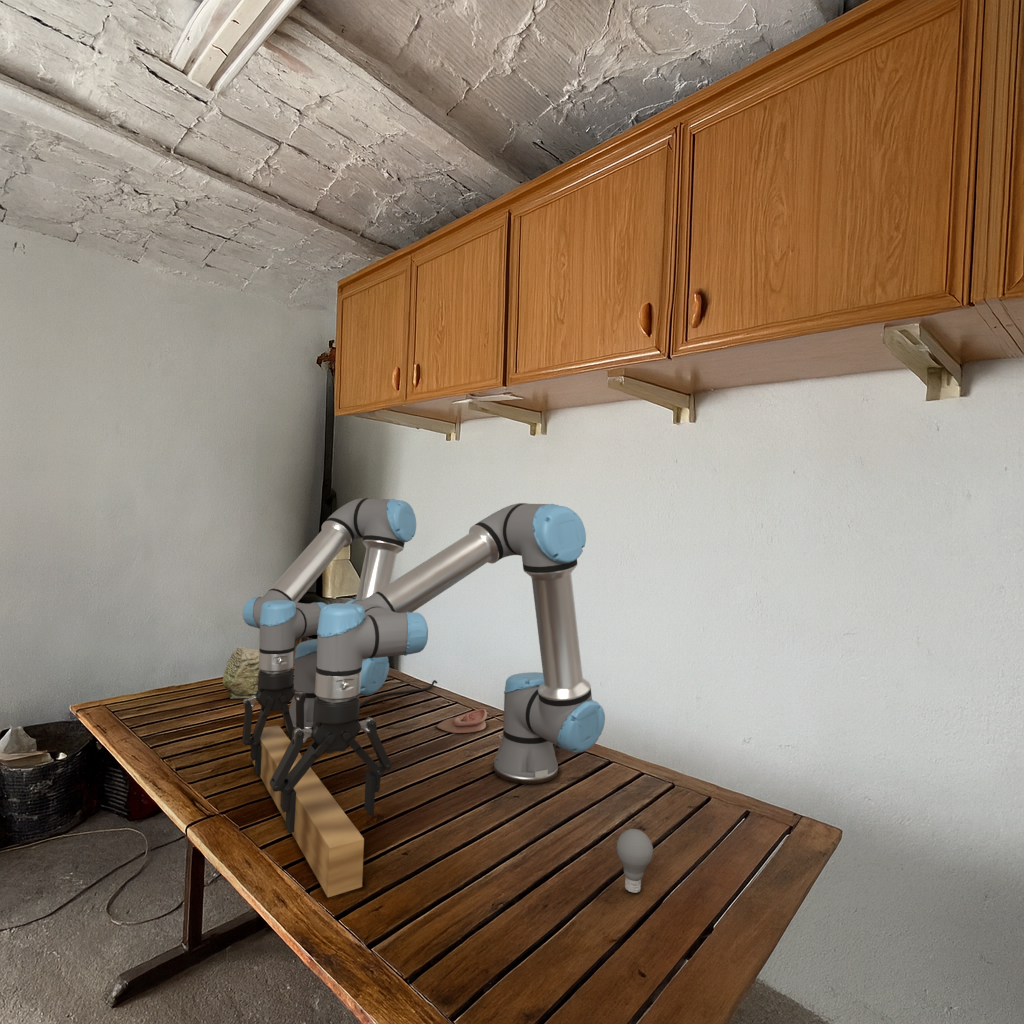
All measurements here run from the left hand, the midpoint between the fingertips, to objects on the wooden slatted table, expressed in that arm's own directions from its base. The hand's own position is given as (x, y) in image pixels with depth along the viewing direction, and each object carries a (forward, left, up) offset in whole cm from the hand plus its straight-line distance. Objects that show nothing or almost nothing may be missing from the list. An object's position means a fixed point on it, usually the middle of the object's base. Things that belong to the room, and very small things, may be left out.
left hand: (272, 770), depth 144 cm
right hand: (+14, +41, +8) cm, 44 cm away
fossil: (-26, -54, -1) cm, 60 cm away
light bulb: (-17, +83, -1) cm, 84 cm away
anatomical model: (-52, +10, -1) cm, 53 cm away
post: (+7, +20, -1) cm, 22 cm away
